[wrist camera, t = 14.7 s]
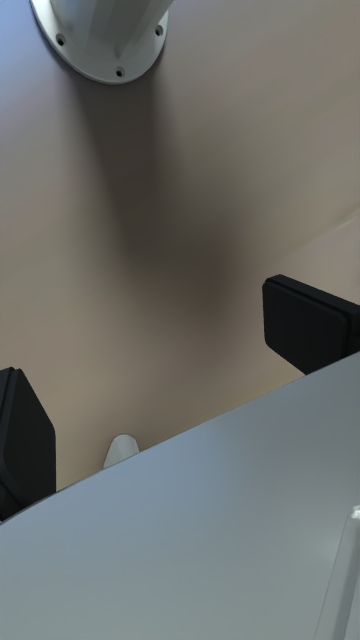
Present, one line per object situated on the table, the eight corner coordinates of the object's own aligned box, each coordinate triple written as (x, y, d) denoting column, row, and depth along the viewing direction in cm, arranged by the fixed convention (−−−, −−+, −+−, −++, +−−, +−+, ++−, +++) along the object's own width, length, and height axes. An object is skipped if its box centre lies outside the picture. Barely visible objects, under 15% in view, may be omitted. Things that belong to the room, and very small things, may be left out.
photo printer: (112, 432, 48) (129, 502, 37) (137, 433, 50) (159, 498, 39) (96, 480, 51) (107, 557, 40) (120, 478, 53) (137, 551, 42)
